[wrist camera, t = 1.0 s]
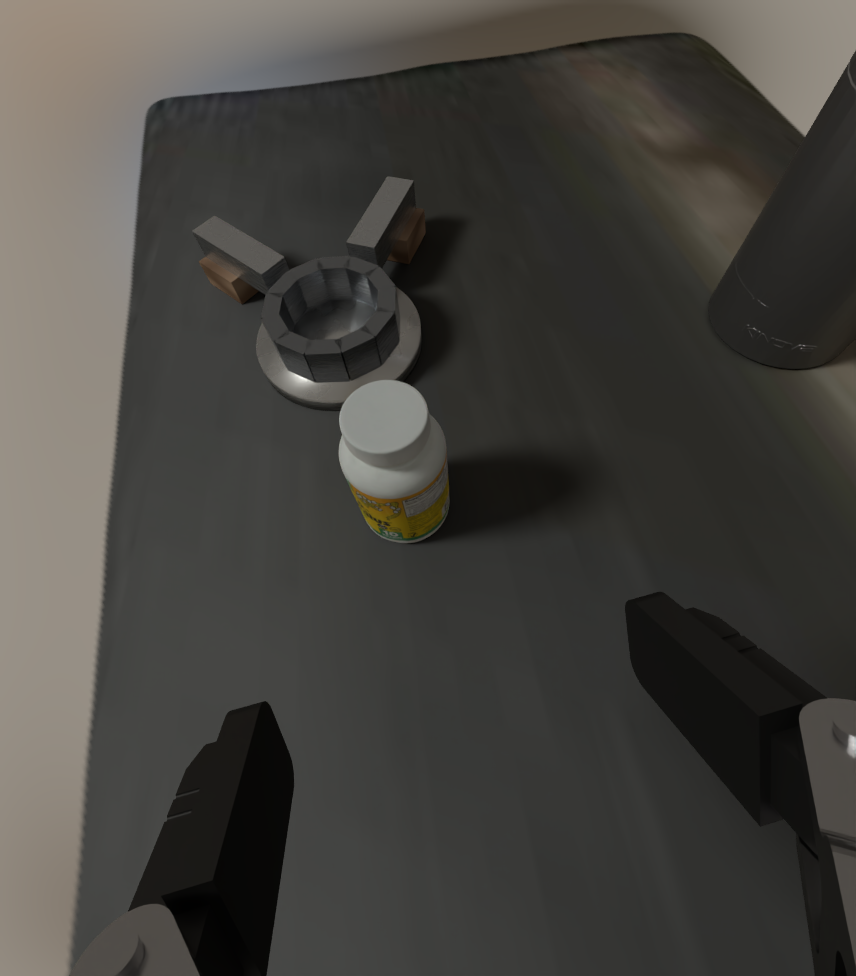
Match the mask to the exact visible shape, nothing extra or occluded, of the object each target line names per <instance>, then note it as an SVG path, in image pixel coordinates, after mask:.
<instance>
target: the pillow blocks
mask: <svg viewBox="0 0 856 976" xmlns="http://www.w3.org/2000/svg"><path fill="white" fill-rule="evenodd" d="M425 234H426V230H425V215H424V209H419V208H416V209H415V211H414V213H413V214H412V216H411V218H410V220H409V221H408V223H407V225H406V227H405V229H404V230H403V232H402V234H401V236H400V238H399V239H398V241H397V243H396V245H395V246H394V248H393V250H392V252H391V254H390V255H389V257H388V259H387V260H390V261H395V262H400V263H405V264H410V262H411V260H412V258H413V256H414V254H415V252H416V251H417V249H418V247H419V245H420V243H421V241H422V239H423V237H424V235H425ZM199 263H200V265H201V266H202V268H203V270H204V272H205V274H206V275H207V277H208V279H209V281H210V282H211V284H212V285H214V286H215V287H217V288H218V289H220V290H221V291H223V292H224V293H226V294H227V295H229V296H230V297H232V298H233V299H235V300H236V301H238V302H239V303H241V304H243V303H245V302H246V301H247V300H248V299H250V298H251V297H252V296H254V295H255V294H256V293H257V292H259V291H258V290H257V289H255V288H254V287H252V286H251V285H249V284H247V283H246V282H244V281H243V280H241V279H240V278H238V277H236V276H235V275H233V274H232V273H230V272H229V271H227V270H226V269H224V268H222V267H221V266H219V265H218V264H216V263H215V262H213V261H212V260H210V259H208V258H207V257H205V258H203V259H202V260H201V261H199Z"/></svg>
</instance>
